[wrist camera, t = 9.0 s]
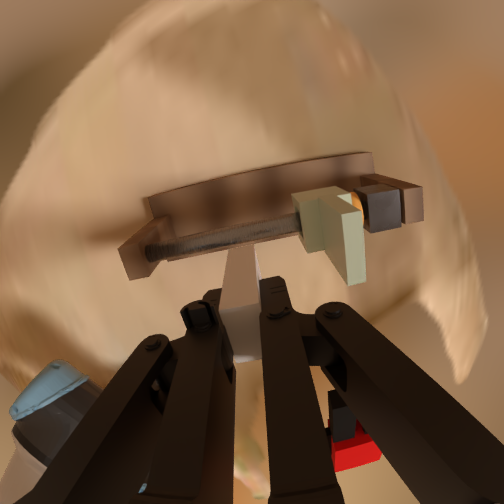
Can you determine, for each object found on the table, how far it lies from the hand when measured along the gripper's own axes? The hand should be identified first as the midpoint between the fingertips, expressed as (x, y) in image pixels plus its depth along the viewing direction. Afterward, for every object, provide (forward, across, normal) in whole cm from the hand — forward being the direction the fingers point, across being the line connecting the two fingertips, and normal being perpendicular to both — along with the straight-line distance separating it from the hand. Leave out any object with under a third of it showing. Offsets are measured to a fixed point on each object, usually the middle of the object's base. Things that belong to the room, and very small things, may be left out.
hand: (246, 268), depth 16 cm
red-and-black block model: (+17, -12, +44) cm, 48 cm away
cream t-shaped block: (+9, -6, 0) cm, 11 cm away
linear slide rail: (+17, -2, 0) cm, 17 cm away
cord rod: (+8, -2, 0) cm, 8 cm away
